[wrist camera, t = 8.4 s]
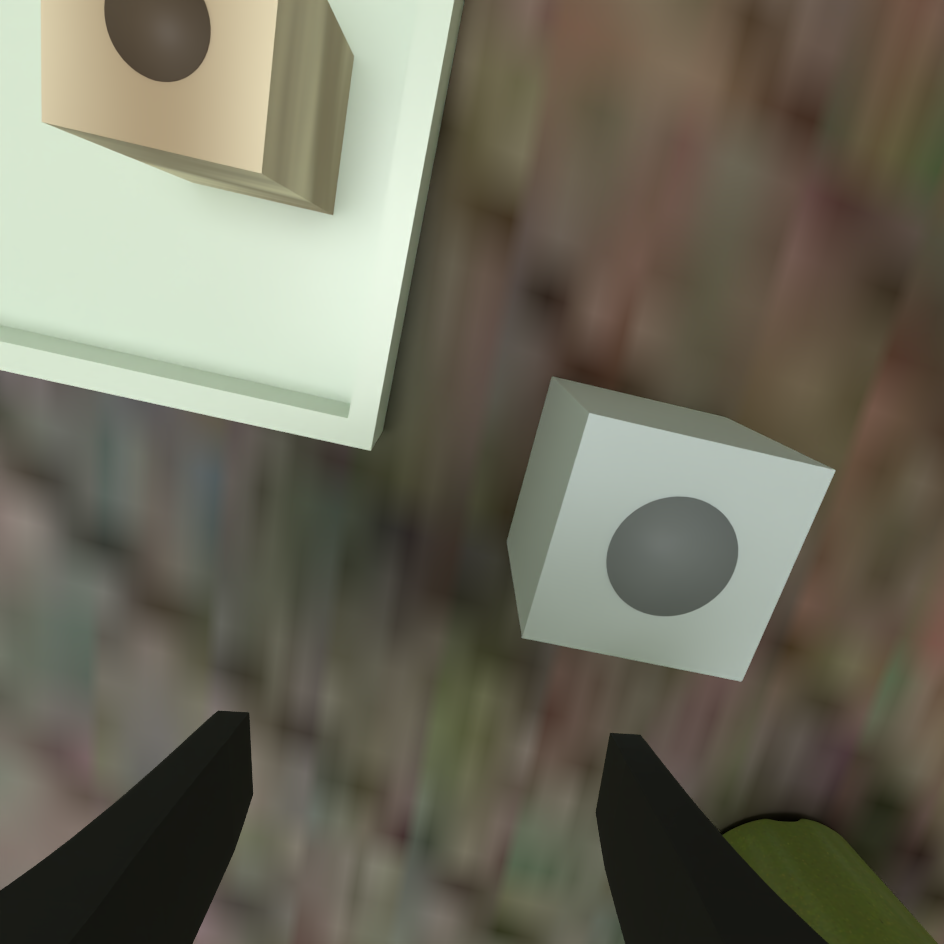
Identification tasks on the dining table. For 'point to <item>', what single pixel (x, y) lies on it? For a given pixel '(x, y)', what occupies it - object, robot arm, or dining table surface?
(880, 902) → the plant pot
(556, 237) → the dining table surface
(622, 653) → the large block
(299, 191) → the small block
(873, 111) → the dining table surface
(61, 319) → the tray
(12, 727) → the dining table surface
